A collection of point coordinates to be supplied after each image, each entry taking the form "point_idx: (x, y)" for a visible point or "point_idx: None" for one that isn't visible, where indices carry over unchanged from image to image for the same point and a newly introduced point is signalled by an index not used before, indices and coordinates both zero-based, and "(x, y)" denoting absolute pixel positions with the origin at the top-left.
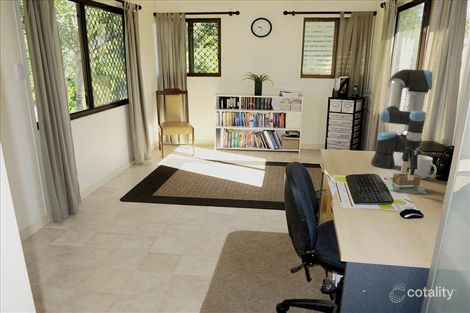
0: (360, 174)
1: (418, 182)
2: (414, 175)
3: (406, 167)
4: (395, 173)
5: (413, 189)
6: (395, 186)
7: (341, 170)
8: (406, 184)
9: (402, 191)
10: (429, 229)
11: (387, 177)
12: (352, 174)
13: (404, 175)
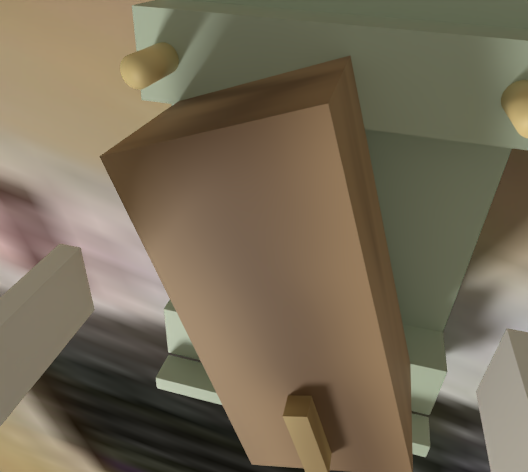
0: (40, 399)
1: (351, 98)
2: (275, 223)
3: (16, 322)
4: (241, 443)
5: (388, 137)
6: (435, 397)
7: (19, 459)
8: (391, 281)
9: (454, 293)
10: None
11: (207, 398)
12: (70, 441)
13: (319, 388)
